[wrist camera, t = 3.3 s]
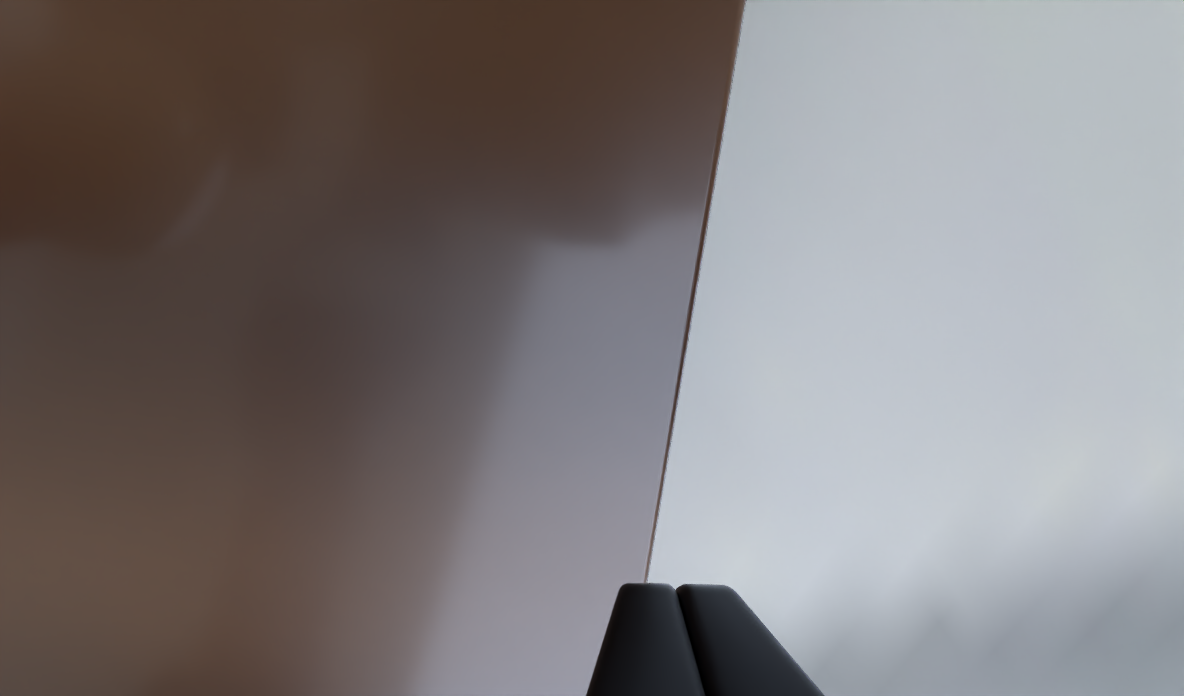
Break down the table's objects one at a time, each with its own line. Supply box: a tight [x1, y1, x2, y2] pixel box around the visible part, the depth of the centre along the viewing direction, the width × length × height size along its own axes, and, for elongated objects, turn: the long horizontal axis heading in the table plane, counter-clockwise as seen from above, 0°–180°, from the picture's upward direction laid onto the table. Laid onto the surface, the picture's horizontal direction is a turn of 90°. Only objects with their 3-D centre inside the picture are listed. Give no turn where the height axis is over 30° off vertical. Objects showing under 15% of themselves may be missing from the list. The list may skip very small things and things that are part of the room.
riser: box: [0, 0, 746, 696], centre depth 12 cm, size 12×10×2 cm
